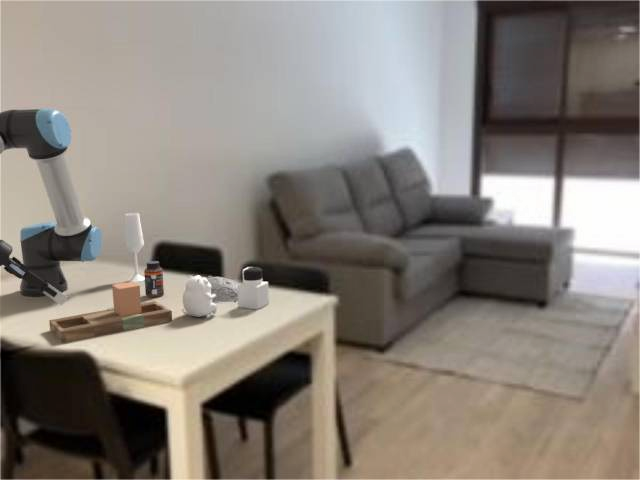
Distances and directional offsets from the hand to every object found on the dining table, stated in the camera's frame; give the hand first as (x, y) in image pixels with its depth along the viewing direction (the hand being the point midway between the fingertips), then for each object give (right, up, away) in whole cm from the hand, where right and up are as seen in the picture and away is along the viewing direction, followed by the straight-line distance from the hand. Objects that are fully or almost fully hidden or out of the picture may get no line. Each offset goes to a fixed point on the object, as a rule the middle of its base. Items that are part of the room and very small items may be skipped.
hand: (64, 300), depth 188 cm
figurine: (+34, -6, +17) cm, 38 cm away
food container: (+37, -2, +41) cm, 55 cm away
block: (+14, -4, +11) cm, 19 cm away
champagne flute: (+3, +2, +62) cm, 62 cm away
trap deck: (+10, -8, +9) cm, 16 cm away
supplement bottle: (+15, -2, +40) cm, 43 cm away
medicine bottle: (+49, -4, +26) cm, 56 cm away
